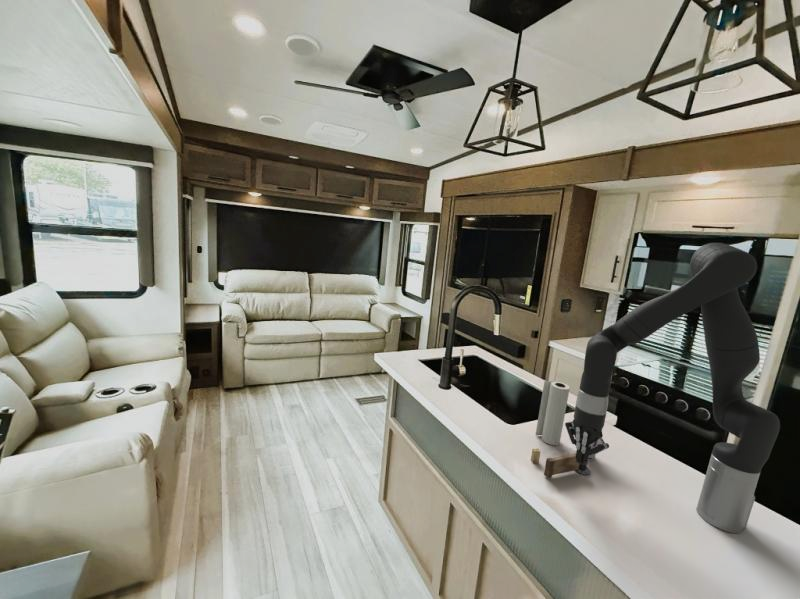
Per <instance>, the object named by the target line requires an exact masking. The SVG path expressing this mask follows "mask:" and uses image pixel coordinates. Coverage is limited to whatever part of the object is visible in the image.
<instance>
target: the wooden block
mask: <svg viewBox="0 0 800 599" xmlns="http://www.w3.org/2000/svg"><path fill="white" fill-rule="evenodd" d="M579 464H580V463H578V462H577V461H576V452H575V453H570V454H569V453H568V454H564V455H559V456H553V457H547V458H546V459H545V466H544V471H543V475H544V476H545V477H546V478H547V479H549V478H550V479H551V478H552V477H553V476H554V475H559V474H563V473H569V472H573V471H574V470H578V469H579ZM574 472H575V471H574Z"/></svg>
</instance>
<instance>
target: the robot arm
mask: <svg viewBox="0 0 800 599" xmlns="http://www.w3.org/2000/svg"><path fill="white" fill-rule="evenodd" d="M689 269H690V273H691V276H692V278H691V279H689V280H688V281H686V282H684V284H682V285H681V286H680V287H678V288H675V289H674V290H672V291H670V292H667V293H666V294H663V295H660V296H658V297H655V298H652V299H649V300H647V301H646V302H644V303H641V304H640V305H638V306H636V307H635V308H633V309H632V310H631V311H629V312H628V313H627V314H625V315H624V316H622V317H621V318H619V320H617V321H616V322H615V323H614V324H611V325H609V326H608V327H606V328H604V329H602V330H600V331H599V332H597V333H596V334H594V335H593V336H592V337H591V338H590V339H589V340H588V342H587V344H586V349H585V354H584V355H585V356H584V364H583V370H582V371H583V372H582V374H581V378H580V382H579V383H580V385H579V390H578V392H577V394H576V400H575V401H576V402H575V408H574V413H573V420H572V421H569V422H565V423H564V425H565V428H566V430H567V434H568V436H569V439H570V442H571V444H572V445H575V448H576V452H575V453H576V461H577V462H578V463H580V464H585V463H587V464H588V457H589V455H592V454H599V453H601V452H603V451H605V450H606V449H609V448H610V445H609V443H608V442H607V443H606V442H605V441H604V439H603V436H604V435H603V428H604V427H605V423H606V418H607V411H608V405H609V395H610V390H611V385H612V376H613V372H614V368H615V365H616V360H617V356H618V353H619V352H621V351H623V350H624V349H625V348H627V347H628V346H630V345H636V344H638V343H640V342H642V341H644V340H646V339H647V338H648V337H650V336H651V335H653V334H654V333H656V332H657V331H659V330H660V329H662V328H663V327H665V326H666V325H668V324H670V323H671V322H674V321H675V320H677V319H678V318H680V317H682V316H684V315H685V314H687V313H689V312H692V311H694V310H695V309H698V308H699V307H700V309H701V310H700V311H701V312H700V313H701V319H702V327H703V333H704V342H705V349H706V353H707V357H708V358H707V359H708V362H709V369H710V377H711V387H712V415H713V419H714V422H715V423H716V424H717V425H718V426H719V427H720V428H721V429H723V430H724V431H726V432H728V433H730V434H731V435H733V436H734V437H736V438H738V439H739V440H738V443H737V444H735V443H731V442H717V443H715V444H714V446H713V449H712V451H711V455H710V459H709V463H708V466H707V470H706V472H705V477H704V480H703V484H702V488H701V491H700V495H699V498H698V502H697V506H696V512H697V513H698V515H699V516H700V518H702V519H703V520H704V521H706V522H707V523H708V524H710V525H711V526H714V527H715V528H718V529H720V530H722V531H723V532H724V531H725V532H728V533H731V534H739V533H742V532H743V529H746V528H747V525H748V522H749V518H750V515H751V512H752V509H753V507H754V504H755V500H756V496H755V492H756V488H757V484H758V481H759V478H760V476H761V472H762V468H763V467H764V466H765V464H766V463H767V462H768V460H769V458H770V456H771V453H772V450H773V448H774V445H775V443H776V441H777V438H778V435H779V432H780V429H781V423H780V422H781V420H780V419H779V417H778V415H777V414H775V413H774V412H773V411H769V410H768V409H765V408H764V407H761V406H759V405H757V404H755V403H752V402H750V401H748V400H746V398H745V396H744V392H743V381H745V379H746V378H747V377H748V376H749V375H750V374H751V373H752V372H754V370H755V369H756V368H757V367H758V365H759V362H760V359H761V357H760V356H761V355H760V347H759V339H758V335H757V332H756V329H755V328H756V327H755V326H754V324H753V322H752V320H751V317H750V316H749V314H748V312H747V310H746V308H745V306H744V305H743V302H742V300H741V297H740V293H739V288H741V287H742V286H744V285H746V284H747V283H749V282H750V281H751V280H752V279H753V278H754V276H755V275H756V273H757V270H758V263H757V261H756V258H755V257H754V256H753V255H752V254H750V253H749V252H747V251H745V250H743V249H740V248H738V247H736V246H733V245H730V244H727V243H722V242H709V243H706V244H703V245H702V246H700V247H699V248H697V249H696V250H695V251H694V253H693V254H692V256H691V258H690V262H689ZM596 441H598V442H597V444H596V447H594V448H592V446H593V445H594V442H596Z"/></svg>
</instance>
